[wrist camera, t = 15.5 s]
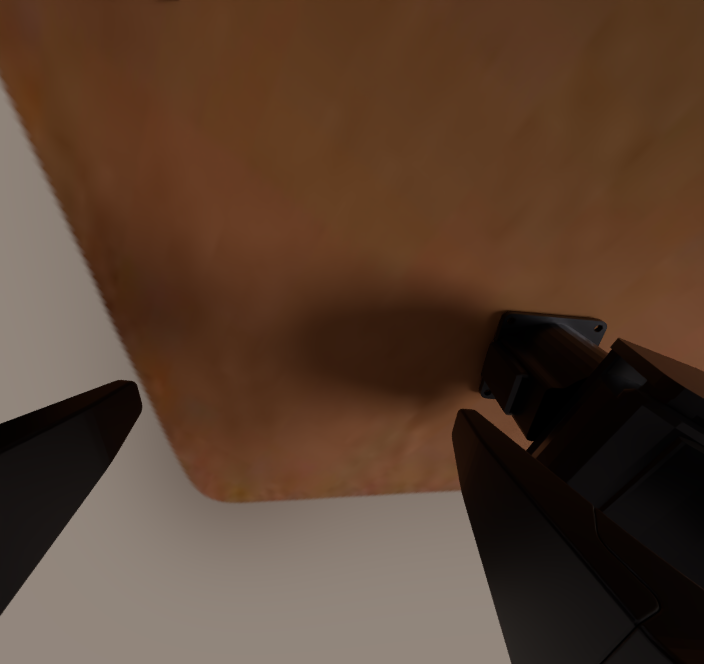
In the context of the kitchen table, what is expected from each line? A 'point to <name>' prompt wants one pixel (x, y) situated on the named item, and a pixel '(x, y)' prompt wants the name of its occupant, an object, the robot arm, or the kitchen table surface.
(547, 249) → the kitchen table surface
